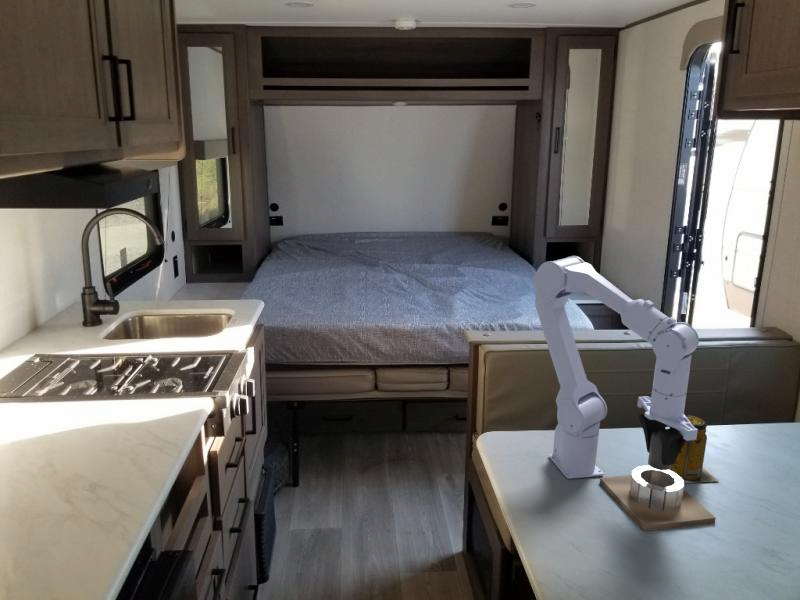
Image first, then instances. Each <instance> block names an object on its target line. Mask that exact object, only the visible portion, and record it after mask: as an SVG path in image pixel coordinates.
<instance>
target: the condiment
mask: <svg viewBox="0 0 800 600" xmlns="http://www.w3.org/2000/svg"><path fill="white" fill-rule="evenodd" d="M685 416H686V417H687V419H688V420H689V421H690V423H691V424H692V425H693V426H694V427H695V428H696V429H697V430H698V432H697V438H696V440H689V441H687V442H686V443H685V445H684V446H683V447H682V449H681V450H680V452H679V454H678V456H677V458H676V461H675V463H674V464H672V465H671V468H670V469H669V470H670V471H672V472H674V473H676V474H677V475H679V476H680V477H681V478H682V480H683V482H684V484H698V483H699V484H700V483H712V482H720V480H719V479H718V478H716V477H715V476H714V475H712V474H711V473H710V472H709V471H707V469H706V468H705V467H704V462H705V460H704V459H705V455H706V449H707V448H706V447H707V440H708V437H707V434H706V433H707V427H708V425H707V422H706V421H705V420H704V419H702V418H700V417H697V416H694V415H685Z"/></svg>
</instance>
